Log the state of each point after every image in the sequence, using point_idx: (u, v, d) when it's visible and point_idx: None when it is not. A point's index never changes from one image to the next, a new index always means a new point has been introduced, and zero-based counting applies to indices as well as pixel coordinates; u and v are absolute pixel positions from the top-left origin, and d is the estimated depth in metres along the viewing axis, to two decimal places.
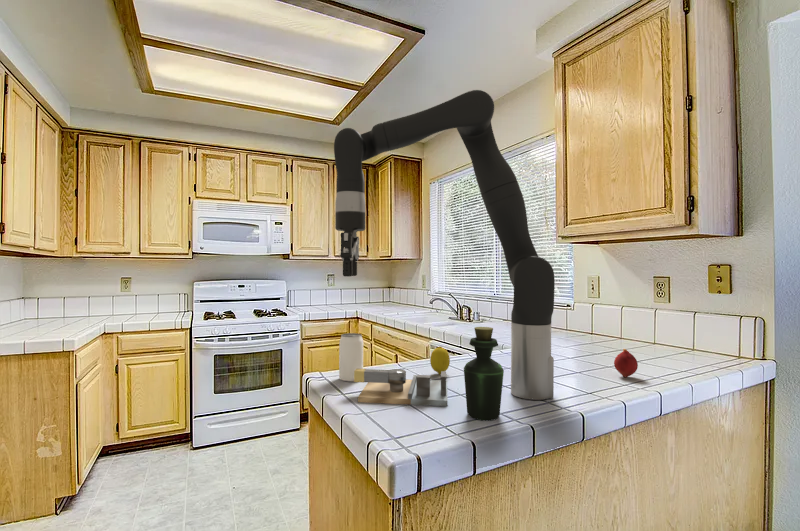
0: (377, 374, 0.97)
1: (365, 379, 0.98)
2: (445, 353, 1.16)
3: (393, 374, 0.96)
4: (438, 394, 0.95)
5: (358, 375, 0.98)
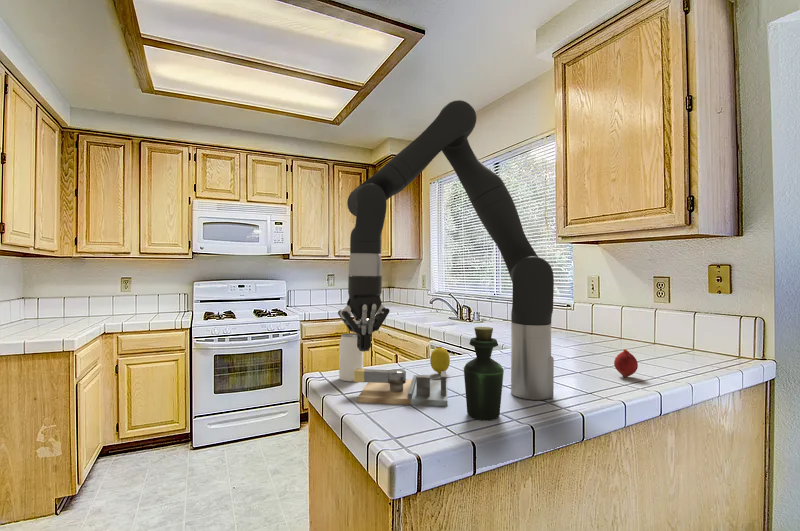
0: (377, 374, 0.97)
1: (365, 379, 0.98)
2: (445, 353, 1.16)
3: (393, 374, 0.96)
4: (438, 394, 0.95)
5: (358, 375, 0.98)
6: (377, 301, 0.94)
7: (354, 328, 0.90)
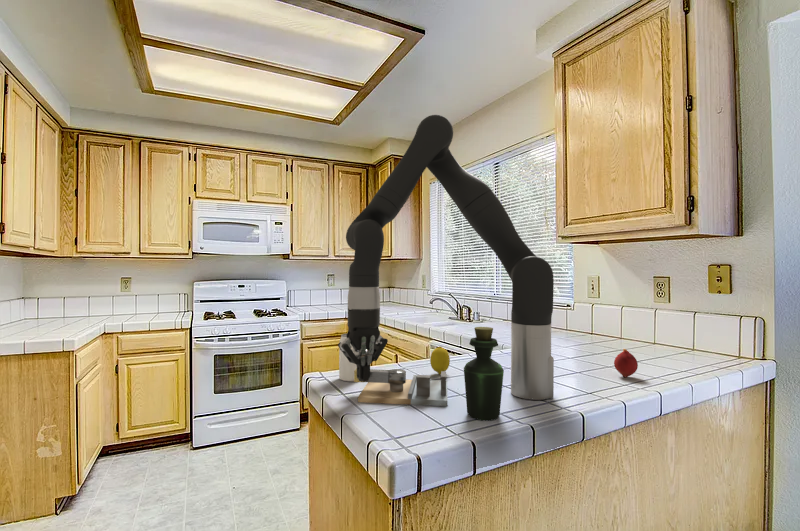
0: (377, 374, 0.97)
1: None
2: (445, 353, 1.16)
3: (393, 374, 0.96)
4: (438, 394, 0.95)
5: None
6: (376, 332, 0.97)
7: (354, 360, 0.93)
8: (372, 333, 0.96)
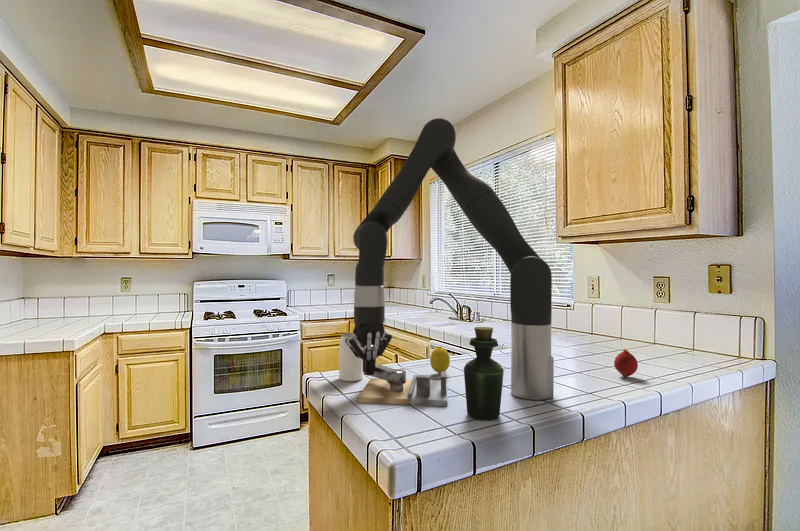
0: (381, 371, 1.00)
1: None
2: (445, 353, 1.16)
3: (388, 373, 0.97)
4: (438, 394, 0.95)
5: None
6: (380, 329, 1.02)
7: (360, 355, 0.98)
8: (377, 329, 1.01)
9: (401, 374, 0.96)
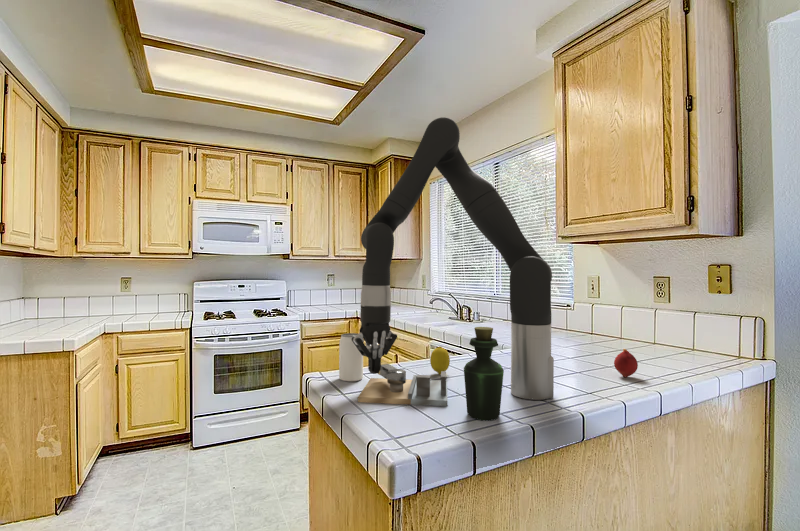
0: (384, 370, 1.01)
1: (380, 372, 1.04)
2: (445, 353, 1.16)
3: (387, 372, 0.98)
4: (438, 394, 0.95)
5: None
6: (386, 328, 1.04)
7: (366, 353, 1.00)
8: (383, 329, 1.03)
9: (398, 374, 0.96)
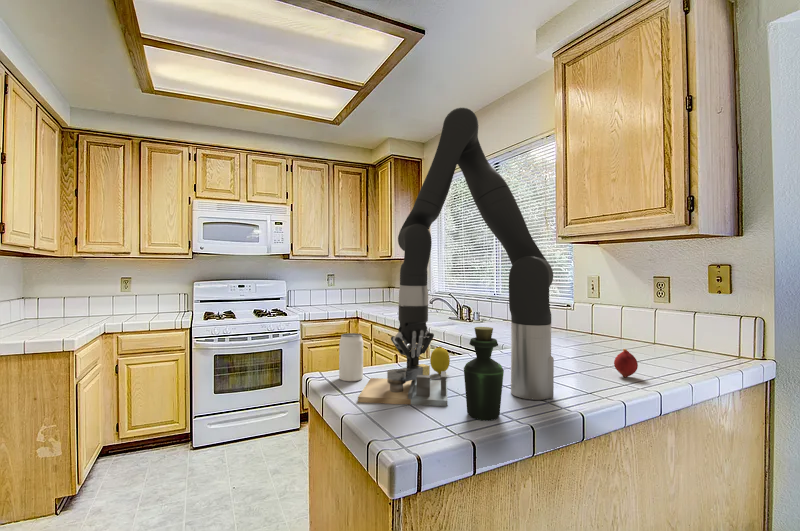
0: None
1: None
2: (445, 353, 1.16)
3: None
4: (438, 394, 0.95)
5: None
6: (424, 327, 1.06)
7: (405, 352, 1.02)
8: (421, 328, 1.05)
9: (388, 373, 0.97)
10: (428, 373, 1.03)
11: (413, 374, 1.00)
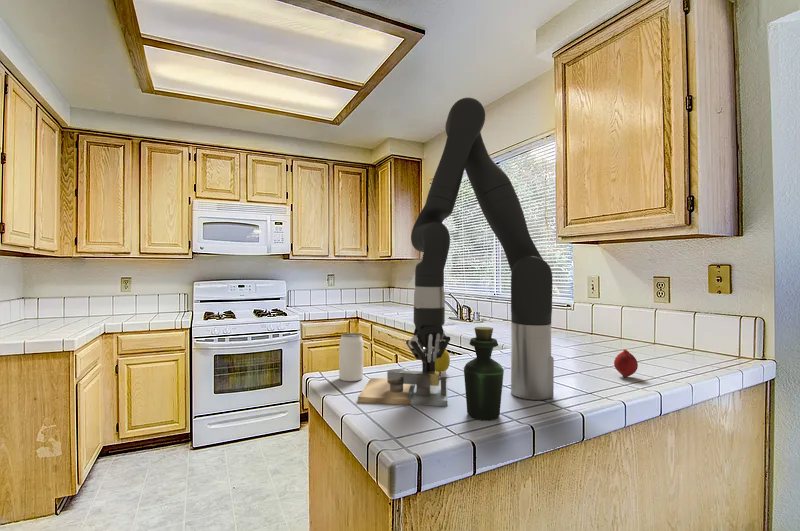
0: None
1: None
2: (445, 353, 1.16)
3: None
4: (438, 394, 0.95)
5: None
6: (440, 330, 1.01)
7: (421, 356, 0.97)
8: (437, 331, 1.00)
9: None
10: (436, 382, 0.95)
11: (414, 378, 0.96)
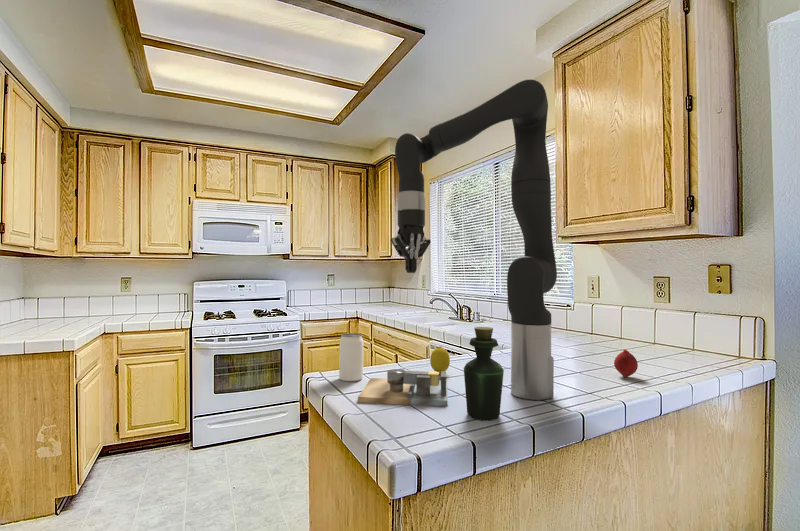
0: None
1: None
2: (445, 353, 1.16)
3: None
4: (438, 394, 0.95)
5: None
6: (421, 232, 1.14)
7: (404, 252, 1.10)
8: (418, 232, 1.13)
9: None
10: (436, 382, 0.95)
11: (413, 378, 0.96)
